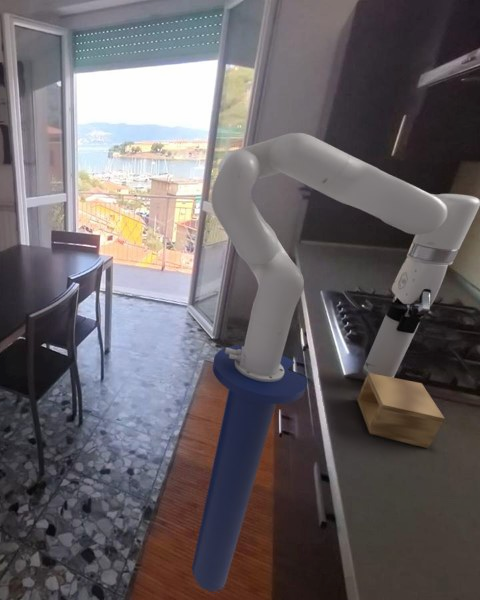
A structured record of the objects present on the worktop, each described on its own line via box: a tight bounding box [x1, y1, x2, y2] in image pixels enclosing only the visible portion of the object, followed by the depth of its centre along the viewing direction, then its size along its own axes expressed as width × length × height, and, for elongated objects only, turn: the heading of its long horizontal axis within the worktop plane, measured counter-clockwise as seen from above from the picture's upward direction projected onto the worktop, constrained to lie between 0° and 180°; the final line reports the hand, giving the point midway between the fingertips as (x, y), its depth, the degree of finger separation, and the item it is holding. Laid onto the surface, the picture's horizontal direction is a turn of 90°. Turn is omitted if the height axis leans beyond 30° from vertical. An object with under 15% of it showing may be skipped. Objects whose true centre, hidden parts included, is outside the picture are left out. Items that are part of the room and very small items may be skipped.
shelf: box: [356, 373, 445, 449], centre depth 79 cm, size 10×12×8 cm
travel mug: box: [362, 302, 422, 378], centre depth 87 cm, size 6×7×20 cm
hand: (399, 324), depth 85 cm, fingers closed on travel mug, 6 cm apart
